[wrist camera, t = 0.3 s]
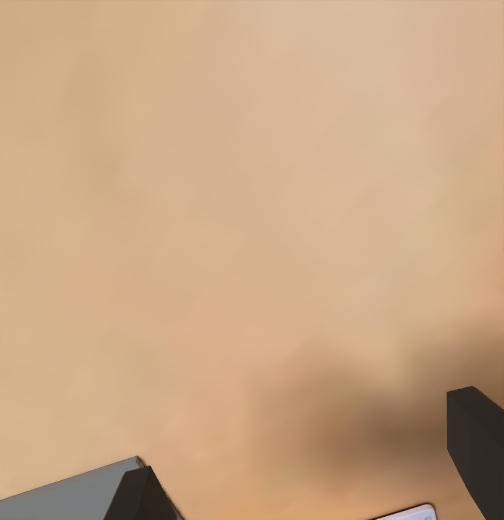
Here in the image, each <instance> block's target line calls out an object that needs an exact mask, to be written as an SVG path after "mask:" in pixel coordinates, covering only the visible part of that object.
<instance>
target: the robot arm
mask: <svg viewBox="0 0 504 520" xmlns="http://www.w3.org/2000/svg"><path fill="white" fill-rule="evenodd" d="M447 449H448V451H449V453H450V455H451V457H452V460H453V462H454V464H455V466H456V468H457V470H458V472H459V474H460V476H461V478H462V480H463V482H464V484H465V486H466V487H467V489H468V491H469V493H470V495H471V496H472V498H473V500H474V501H475V503H476V505H477V506H478V508H479V509H480V511H481V512H482V514H483V516H484V517H485V519H486V520H504V410H503V409H502V408H501V407H500V406H498V405H497V404H496V403H494V402H493V401H492V400H491V399H489V398H488V397H487V396H485V395H484V394H483V393H482V392H480V391H479V390H478V389H477V388H475V387H473V386H470V387H466V388H461V389H457V390H453V391H449V392H447ZM103 520H177V515H176V513H175V511H174V509H173V507H172V505H171V504H170V502H169V500H168V498H167V496H166V494H165V492H164V490H163V488H162V487H161V485H160V483H159V481H158V479H157V477H156V475H155V473H154V471H153V470H152V468H151V466H146V467H142V468H138V469H134V470H130V471H126V472H125V473H124V475H123V476H122V479H121V481H120V483H119V485H118V488H117V490H116V492H115V494H114V497H113V499H112V501H111V503H110V506H109V508H108V510H107V512H106V514H105V517H104V519H103ZM376 520H436V515H435V511H434V509H433V507H432V506H431V505H429V504H426V505H422V506H419V507H415V508H412V509H409V510H406V511H402V512H399V513H396V514H393V515H389V516H386V517H383V518H379V519H376Z"/></svg>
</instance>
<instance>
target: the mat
mask: <svg viewBox="0 0 504 520" xmlns="http://www.w3.org/2000/svg"><path fill="white" fill-rule="evenodd" d="M142 467H144V466H143V464H142V463H141V461H140V460H139V459H138V457H137V456H136V457H133V458H130V459H127V460H124V461H120V462H117V463H114V464H111V465H108V466H105V467H102V468H99V469H96V470H93V471H90V472H87V473H83V474H80V475H77V476H74V477H71V478H68V479H65V480H62V481H59V482H56V483H53V484H50V485H47V486H43V487H40V488H37V489H34V490H31V491H28V492H25V493H22V494H19V495H16V496H13V497H10V498H7V499H3V500H0V520H103V519H104V517H105V514H106V512H107V510H108V508H109V506H110V503H111V501H112V499H113V497H114V494H115V492H116V490H117V488H118V485H119V483H120V481H121V479H122V476H123V475H124V473H125V472H126V471H130V470H134V469H138V468H142ZM169 502H170V501H169ZM170 504H171V503H170ZM171 505H172V504H171ZM172 507H173V505H172ZM173 509H174V511H175V513H176V515H177V520H183V519H182V518H181V516H180V515H179V514H178V512H177V511H176V510H175V508H174V507H173Z"/></svg>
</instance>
